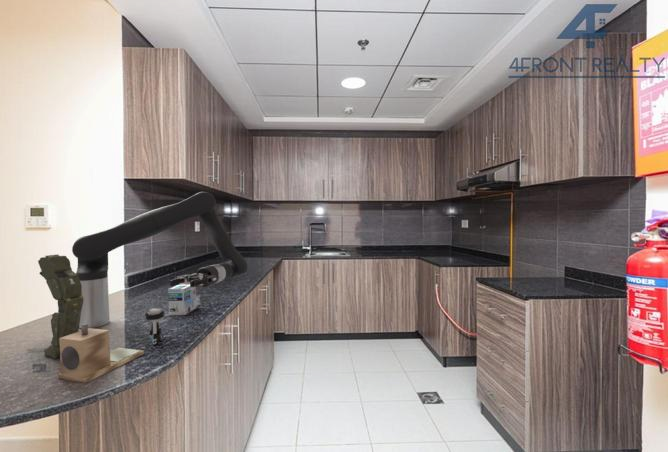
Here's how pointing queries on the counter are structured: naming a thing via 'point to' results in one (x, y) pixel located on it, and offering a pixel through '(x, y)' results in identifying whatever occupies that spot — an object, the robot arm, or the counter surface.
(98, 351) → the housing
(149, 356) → the counter surface
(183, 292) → the light bulb box
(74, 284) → the mechanical leg
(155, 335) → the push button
